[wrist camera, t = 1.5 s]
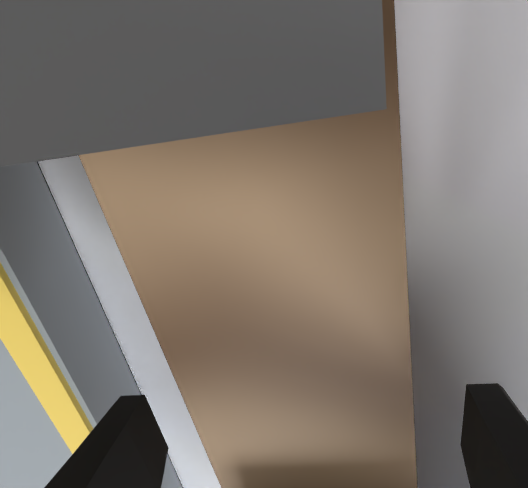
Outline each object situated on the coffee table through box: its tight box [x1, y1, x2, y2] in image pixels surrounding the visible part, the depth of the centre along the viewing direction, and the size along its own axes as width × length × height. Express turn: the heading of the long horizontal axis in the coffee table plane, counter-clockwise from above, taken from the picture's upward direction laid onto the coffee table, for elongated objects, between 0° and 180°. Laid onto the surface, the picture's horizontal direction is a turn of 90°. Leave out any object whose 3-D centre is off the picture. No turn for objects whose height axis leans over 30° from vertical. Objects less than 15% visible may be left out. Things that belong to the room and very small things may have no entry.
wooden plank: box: [79, 0, 417, 488], centre depth 12 cm, size 26×6×4 cm, turn 11°
